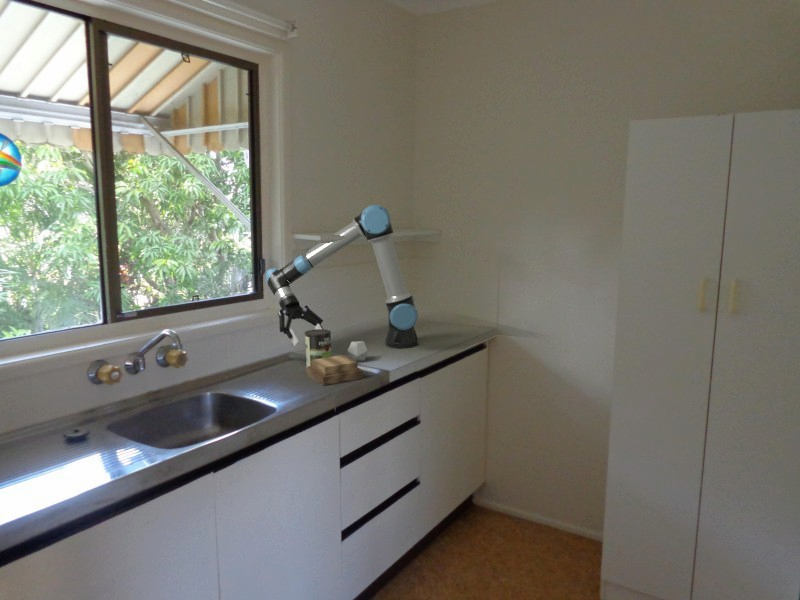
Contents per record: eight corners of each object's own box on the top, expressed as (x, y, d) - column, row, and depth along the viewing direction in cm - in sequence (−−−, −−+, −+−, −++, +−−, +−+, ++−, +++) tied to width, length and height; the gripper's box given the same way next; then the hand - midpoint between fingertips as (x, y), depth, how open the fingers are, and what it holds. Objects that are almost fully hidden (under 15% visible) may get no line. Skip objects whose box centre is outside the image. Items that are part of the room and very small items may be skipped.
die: (360, 365, 236) (372, 345, 237) (341, 354, 237) (354, 334, 238) (361, 367, 244) (373, 347, 245) (343, 357, 245) (355, 337, 246)
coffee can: (337, 365, 235) (336, 330, 233) (319, 371, 227) (317, 335, 224) (319, 361, 241) (317, 328, 239) (300, 367, 233) (299, 332, 231)
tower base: (344, 368, 230) (344, 353, 229) (363, 378, 216) (363, 362, 215) (306, 375, 222) (305, 359, 221) (323, 385, 208) (322, 369, 207)
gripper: (308, 302, 253) (331, 340, 245) (257, 309, 236) (281, 352, 228) (315, 291, 249) (338, 330, 241) (264, 298, 231) (288, 340, 223)
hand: (310, 341), depth 234 cm, fingers open, 13 cm apart
